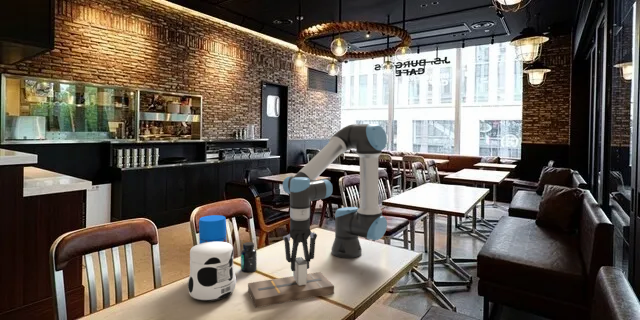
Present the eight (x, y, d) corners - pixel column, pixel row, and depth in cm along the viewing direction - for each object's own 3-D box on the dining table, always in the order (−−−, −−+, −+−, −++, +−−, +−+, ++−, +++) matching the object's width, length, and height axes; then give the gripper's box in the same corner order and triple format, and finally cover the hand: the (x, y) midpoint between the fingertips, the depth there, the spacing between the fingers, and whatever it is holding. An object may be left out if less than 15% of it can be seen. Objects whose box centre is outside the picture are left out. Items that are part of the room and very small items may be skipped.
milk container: (198, 283, 143) (197, 240, 141) (241, 284, 142) (240, 240, 141) (180, 305, 125) (178, 255, 124) (228, 306, 125) (227, 256, 123)
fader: (301, 278, 141) (301, 257, 140) (306, 284, 135) (306, 262, 134) (293, 279, 139) (293, 258, 139) (298, 285, 134) (298, 263, 133)
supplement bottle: (241, 274, 153) (240, 246, 152) (240, 268, 159) (240, 241, 158) (257, 272, 154) (257, 245, 153) (255, 266, 161) (255, 240, 160)
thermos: (219, 282, 144) (218, 222, 142) (195, 280, 146) (193, 220, 144) (231, 272, 155) (230, 215, 152) (208, 270, 157) (207, 214, 155)
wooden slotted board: (320, 278, 148) (320, 271, 148) (333, 293, 135) (334, 285, 135) (248, 290, 137) (248, 282, 137) (255, 307, 124) (255, 299, 124)
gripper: (282, 222, 128) (282, 285, 130) (323, 218, 134) (323, 278, 137) (276, 217, 135) (277, 277, 137) (316, 214, 141) (316, 271, 143)
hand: (300, 277), depth 137 cm, fingers closed on fader, 3 cm apart
